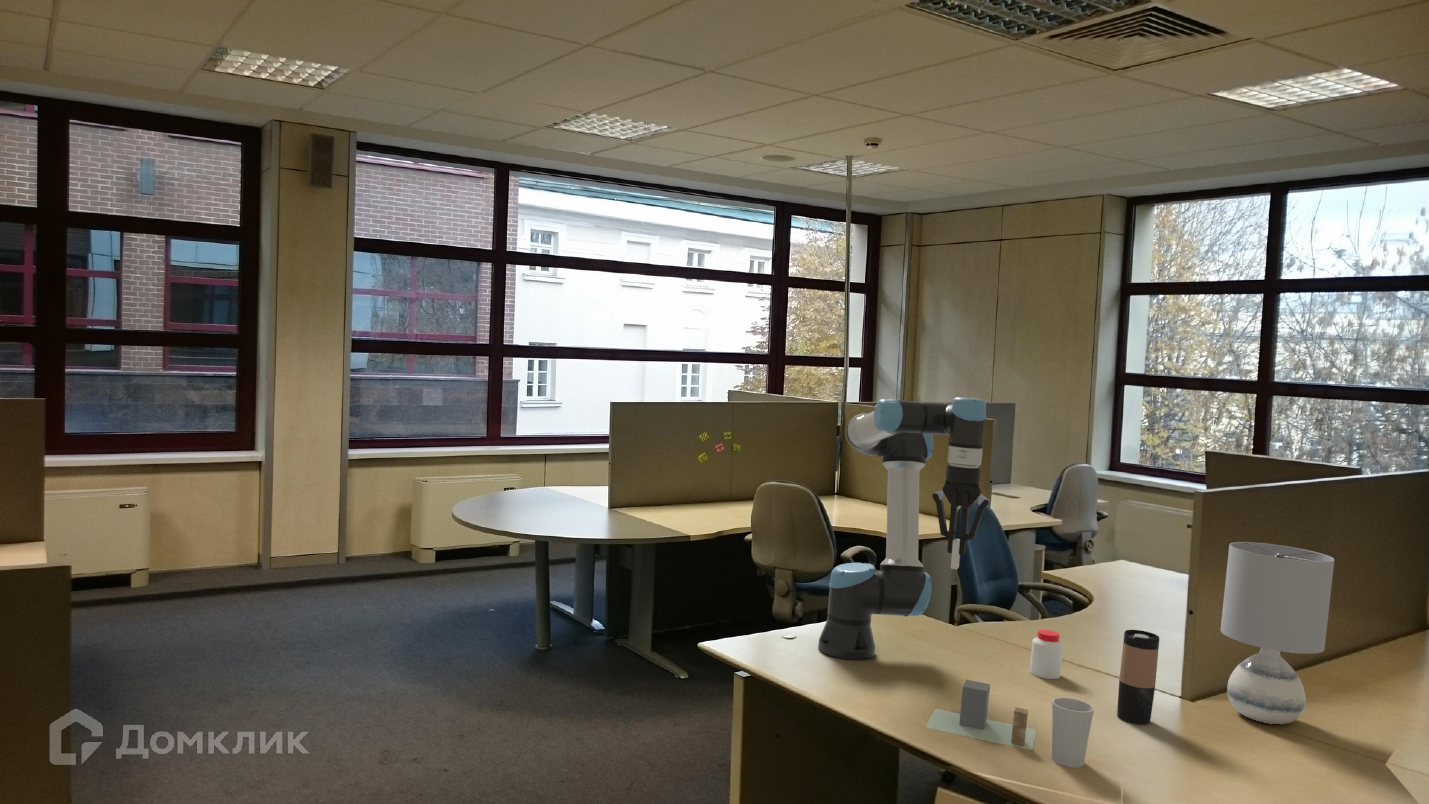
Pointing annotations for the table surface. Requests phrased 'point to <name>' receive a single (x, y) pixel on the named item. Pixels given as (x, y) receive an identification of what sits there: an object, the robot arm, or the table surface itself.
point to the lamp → (1274, 624)
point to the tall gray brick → (974, 704)
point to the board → (991, 732)
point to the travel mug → (1137, 676)
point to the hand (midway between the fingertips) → (954, 567)
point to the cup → (1070, 731)
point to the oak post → (1019, 726)
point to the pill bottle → (1046, 655)
